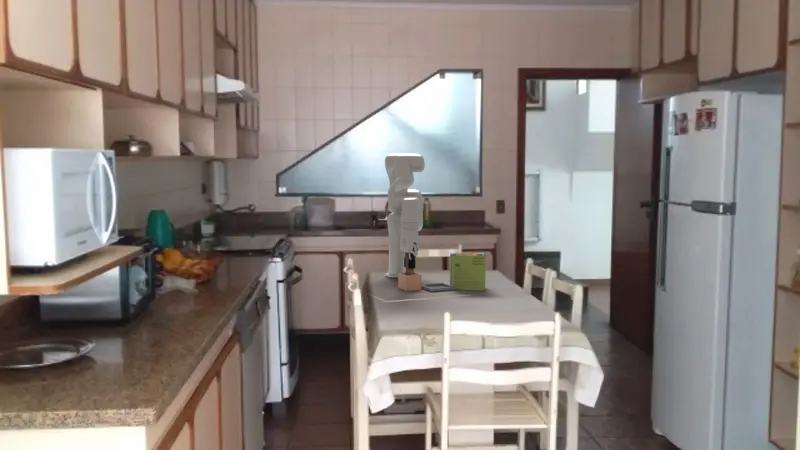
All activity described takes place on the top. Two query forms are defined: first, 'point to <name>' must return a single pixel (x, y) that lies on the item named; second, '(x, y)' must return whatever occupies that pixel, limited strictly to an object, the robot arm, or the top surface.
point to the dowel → (408, 271)
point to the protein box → (467, 271)
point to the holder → (409, 281)
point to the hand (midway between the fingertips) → (409, 267)
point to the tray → (437, 287)
